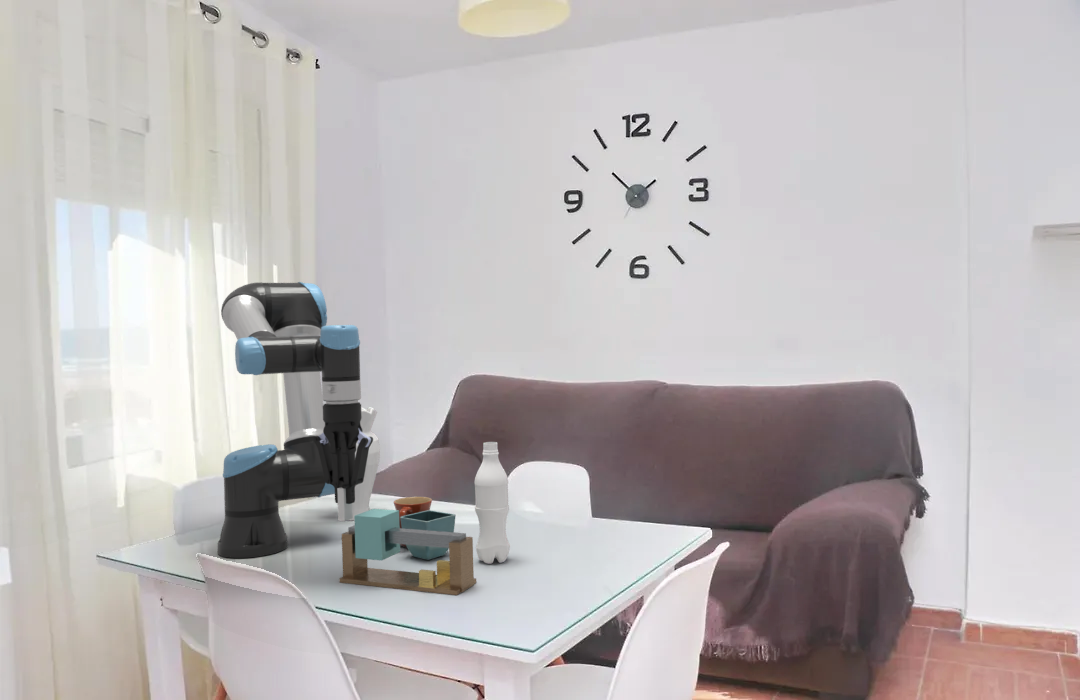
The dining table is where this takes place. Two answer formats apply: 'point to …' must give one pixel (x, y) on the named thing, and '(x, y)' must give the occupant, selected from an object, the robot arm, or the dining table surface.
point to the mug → (411, 507)
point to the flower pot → (431, 523)
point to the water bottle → (491, 506)
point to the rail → (449, 573)
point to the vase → (367, 465)
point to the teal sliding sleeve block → (375, 534)
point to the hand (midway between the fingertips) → (345, 519)
